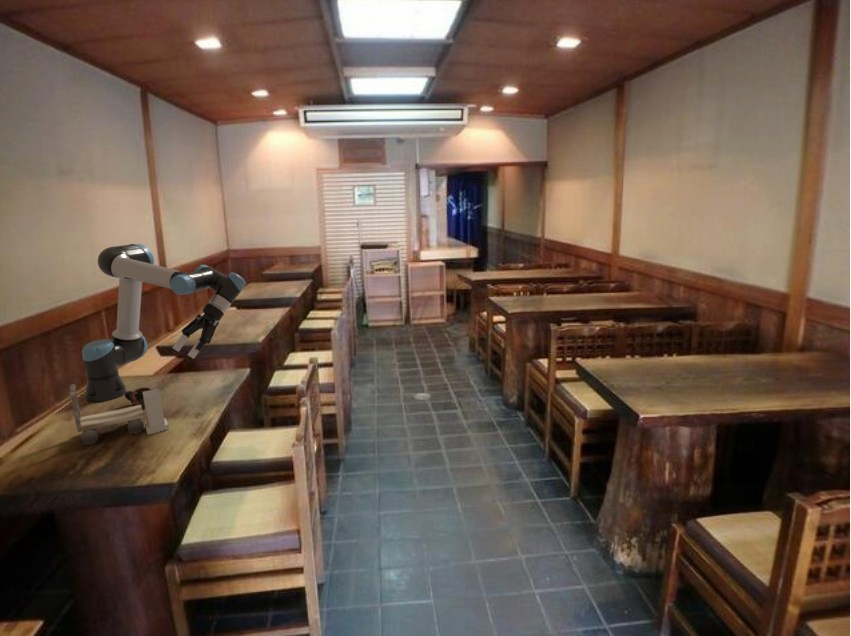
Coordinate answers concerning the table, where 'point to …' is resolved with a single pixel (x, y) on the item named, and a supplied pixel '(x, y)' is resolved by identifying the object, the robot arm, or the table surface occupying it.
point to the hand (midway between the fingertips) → (182, 353)
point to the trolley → (105, 419)
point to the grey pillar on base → (154, 412)
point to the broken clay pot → (137, 396)
